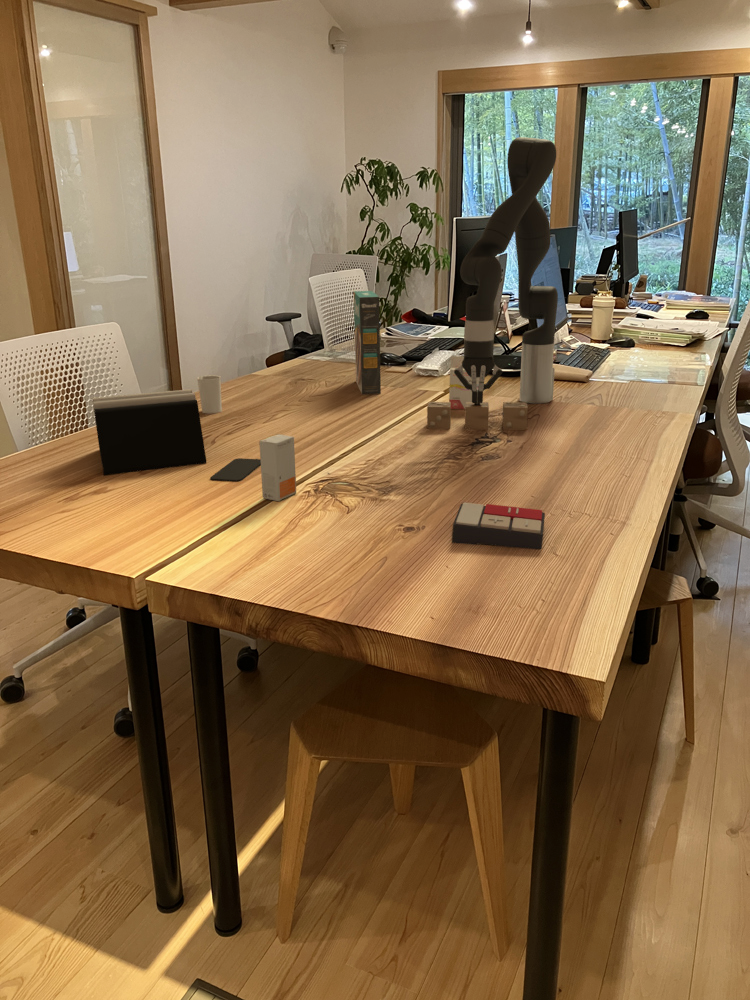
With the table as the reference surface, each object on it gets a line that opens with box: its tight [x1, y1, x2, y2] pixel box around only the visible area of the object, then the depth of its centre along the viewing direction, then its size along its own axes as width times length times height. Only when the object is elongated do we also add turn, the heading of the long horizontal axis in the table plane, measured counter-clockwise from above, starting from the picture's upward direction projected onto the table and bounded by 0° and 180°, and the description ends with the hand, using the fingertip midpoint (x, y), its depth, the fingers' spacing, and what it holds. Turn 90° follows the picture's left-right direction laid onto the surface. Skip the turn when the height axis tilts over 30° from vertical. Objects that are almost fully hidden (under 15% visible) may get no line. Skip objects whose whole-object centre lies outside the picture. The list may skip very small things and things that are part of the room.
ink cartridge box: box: [448, 355, 479, 410], centre depth 225 cm, size 9×5×15 cm, turn 84°
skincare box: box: [259, 433, 297, 502], centre depth 155 cm, size 6×4×12 cm
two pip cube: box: [502, 401, 529, 431], centre depth 205 cm, size 6×6×6 cm
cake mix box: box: [353, 290, 382, 395], centre depth 253 cm, size 22×6×30 cm, turn 6°
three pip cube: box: [426, 401, 452, 430], centre depth 207 cm, size 6×6×6 cm
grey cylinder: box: [197, 374, 223, 415], centre depth 228 cm, size 7×7×10 cm
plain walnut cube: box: [464, 401, 490, 431], centre depth 206 cm, size 6×6×6 cm
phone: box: [210, 457, 261, 483], centre depth 174 cm, size 7×1×15 cm
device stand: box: [92, 388, 207, 476], centre depth 183 cm, size 22×22×15 cm
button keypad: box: [451, 502, 546, 550], centre depth 136 cm, size 11×4×15 cm
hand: (477, 404), depth 205 cm, fingers closed
